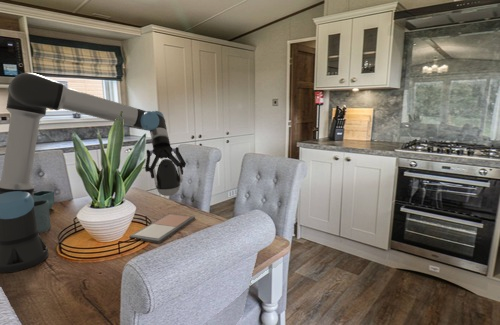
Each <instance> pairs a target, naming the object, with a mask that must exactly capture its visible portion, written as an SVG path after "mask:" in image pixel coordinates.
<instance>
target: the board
mask: <svg viewBox="0 0 500 325" xmlns="http://www.w3.org/2000/svg"><path fill="white" fill-rule="evenodd" d="M194 220H196V216H193V215H185V214H176V213H167V214H166V215H164V216H162V217H161V218H158V219H157V220H156V221H153V222H151V223H150V224H148V225H147V226H145V227H143V228H141V229H140V230H139V229H138V231H136V232H134V233H133V234H130V235H129V239H130V238H136V239H142V240H141V241H142V242H150V243H155V244H160V243H162V242H163V241H165V240H166V239H168V238H169V237H171V235H173V234H175V233H176V232H178V231H180V229H182V228H184V226H186V225H188V224H189V223H191V222H192V221H194ZM136 239H135V240H136Z"/></svg>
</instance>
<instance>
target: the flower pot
mask: <svg viewBox="0 0 500 325" xmlns="http://www.w3.org/2000/svg"><path fill="white" fill-rule="evenodd" d="M33 200H34V201H37V200H48V203H49V210H50V209H52V207H54V206H53V205H54V203H55V191H54V190H53V191H51V190H40V191H36V192H34V194H33Z"/></svg>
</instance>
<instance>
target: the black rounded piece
mask: <svg viewBox="0 0 500 325" xmlns="http://www.w3.org/2000/svg"><path fill="white" fill-rule="evenodd" d="M176 167H177V166H176V165H175V164H174V163H173V162H172V161H171V160H170V159H169V158H163V159H162V160H161V161H160V162H159V164H158V166H157V168H156V169H157V170H156V177H157V186H155V189H156V190H157V192H158V193H159V195H161V196H165V197H166V196H167V197H168V196H173V195H175V194H177V193H178V192H179V190H180V187H181V182H180V179H179V175H178V170H177V168H176Z"/></svg>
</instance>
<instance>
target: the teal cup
mask: <svg viewBox="0 0 500 325" xmlns="http://www.w3.org/2000/svg"><path fill="white" fill-rule="evenodd" d="M34 209H35V215H36V220H37V226H38V232H39V234H41V233H44V232H47V231H49V230H51V228H52V227H51V226H52V225H51V224H52V223H51V217H50V214H51V213H50V209H49V203H48V200H37V201H34Z"/></svg>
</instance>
